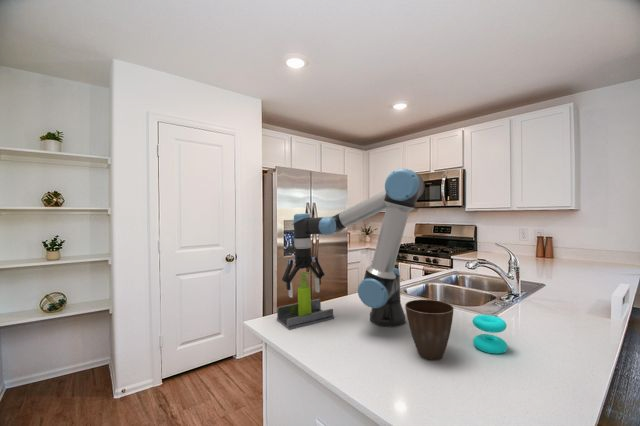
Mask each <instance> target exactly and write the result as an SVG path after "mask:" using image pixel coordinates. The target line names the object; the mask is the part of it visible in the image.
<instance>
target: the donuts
mask: <svg viewBox="0 0 640 426" xmlns="http://www.w3.org/2000/svg"><path fill="white" fill-rule="evenodd" d="M472 324H473V326H474V327H475V328H476V329H478V330H480V331H481V332H482V331H483V332H484V333H482V334H481V333H480V334H478V335H476V336H475V337H473V341H472V343H473V345H474V346H475V348H477V349H478V350H480V351H481V352H485V353H488V354H496V355H498V354H503V353H505V352H506V351H507V350H508V344H507V342H506V341H505V340H504V339H503V338H501V337H500V336H497V335H495V334H497V333H502V332H504V331H505V330H506V329H507V322H506V321H505V320H504V319H503V318H501V317H498V316H495V315H490V314H479V315H475V316H474V317H473V318H472ZM485 332H486V333H485ZM488 333H490V334H488ZM493 334H494V335H493Z"/></svg>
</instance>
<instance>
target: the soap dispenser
mask: <svg viewBox="0 0 640 426" xmlns="http://www.w3.org/2000/svg"><path fill="white" fill-rule="evenodd" d="M299 275H300V276H301V279H300V280H299V287H297V303H298V316H302V315H306V314H311V300H312V298H311V297H312V295H311V292H312V291H311V287H310V286H308V285H309V284H308V279H306V275H307V276H312V275H313V272H300V273H299Z"/></svg>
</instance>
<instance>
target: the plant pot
mask: <svg viewBox="0 0 640 426" xmlns="http://www.w3.org/2000/svg"><path fill="white" fill-rule="evenodd" d="M404 306H405V307H404V308H405V315H406V317H407V319H406V320H407V322H408V327H409V330H410V333H411V338H412V341H413V343H414V345H415V348H416V351H417V353H418V355H419V356H420V357H421V358H423V359H425V360H428V361H438V360H441V359H443V357H444V356H445V355H444V354H445V352H446V349H447V346H448V343H449V340H450V335H451V330H452V326H453V324H452V323H453V317H454V309H455V308H454V306H452V305H451V304H449V303H447V302H444V301H440V300H433V299H415V300H409V301H407V302H406V303H405V305H404Z"/></svg>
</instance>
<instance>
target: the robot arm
mask: <svg viewBox="0 0 640 426" xmlns="http://www.w3.org/2000/svg"><path fill="white" fill-rule="evenodd" d="M425 188H426V187H425V182H424V179H423V178H422V176H421V175H420V174H419V173H417V172H415V171H413V170H411V169H408V168H399V169H395V170H393V171H391V173H390V174H388V176H387V177H386V179H385V182H384V189H385V190H383V191H381V192H379V193H377V194H375V195H373V196H371V197H368V198H367V199H365V200H363V201H360V202H359V203H357V204H355V205H353V206H351V207H349V208H347V209H345V210H343V211H340V212H338V213H337V214H335V215H333V216H320V217H311V214H310V213H295V214H294V215H293V236H294V238H293V243H294V259H288V261H287V266H286V269H285V271H284V274H283V276H282V279H281V281H282V282H284V283H286V284H285V285H286V286H285V287H286V290H287V291H288V297H289V298H291V299H292V298H293V297H294V295H293V282H292V281H293V279H294V277H295V276H296V274H297V273H298V271H299V270H300V269H301V270H302V269H309V270H310V271H311V273H312V274H314V276H315V277H314V289H315V291H314V292H316V293H321V292H320V291H321V290H320V285H322V280H321V279H322V278H323V277H325V273H324V270H323V269H322V267H321V265H320V262H319V258H318V256H312V248H311V247H312V239H311V238H312V236H311V235H323V236H324V235H325V236H328V235H329V236H330V235H333V234H335V233H339V232H342V231H343V230H344V229H346V228H349V227H350V226H353V225H354V224H357V223H359V222H361V221H364V220H365V219H368V218H370V217H372V216H374V215H376V214H378V213H381V212H383V211H385V212H384V216H383V220H382V224H381V226H380V230H379V234H378V238H377V243H376V246H375V250H374V253H373V258H372V261H371V265H369V266H367V267H366V269H365V272H364V277H363V280H361V281H360V282H359V285H358V286H357V287H358V288H357V294H358V295H357V296H358V298H359V299H360V301H361V302H362V303H363V305H365V306H366V307H369V308H371V311H370V313H369V321H370V322H371V323H372V324H373V325H377V326H382V327H399V326H402V325H404V324H405V323H406V313H404V309H403V307H402V303H401V302H402V301H401V279H400V278H401V275H400V270H399V268H396V267H395V265H396V263H397V259H398V254H399V251H400V247H401V244H402V241H403V240H402V239H403V236H404V232H405V228H406V225H407V222H408V221H407V220H408V218H409V214H410V212H411V211H413V210H415V208H416V205H417V201H418V199H419V198H420V197H421V196H422V195H423V193H424V191H425ZM312 262H313V264H314V265H313V264H312ZM294 264H295V265H294ZM293 265H294V266H293ZM314 266H315V267H314ZM292 268H293V269H292ZM316 269H317V270H316Z"/></svg>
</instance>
